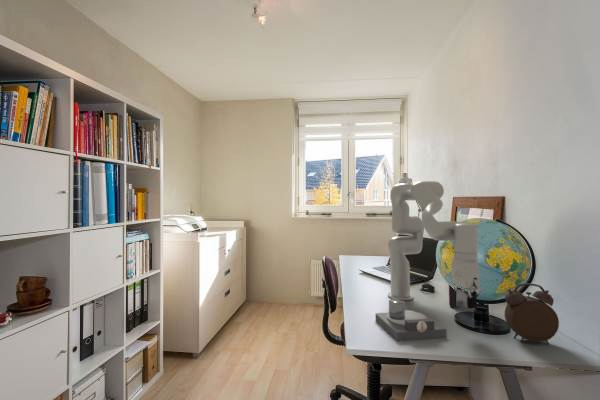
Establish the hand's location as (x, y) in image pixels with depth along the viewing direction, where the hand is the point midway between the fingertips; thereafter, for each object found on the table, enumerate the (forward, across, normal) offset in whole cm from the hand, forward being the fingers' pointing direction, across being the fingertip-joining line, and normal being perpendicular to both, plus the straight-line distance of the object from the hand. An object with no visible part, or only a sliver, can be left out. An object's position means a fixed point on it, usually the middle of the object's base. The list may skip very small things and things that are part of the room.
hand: (465, 304), depth 109 cm
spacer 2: (+1, 0, 0) cm, 1 cm away
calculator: (+12, -28, +18) cm, 35 cm away
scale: (+11, -7, -19) cm, 23 cm away
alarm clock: (+11, +10, +17) cm, 22 cm away
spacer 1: (+7, -9, -23) cm, 25 cm away
